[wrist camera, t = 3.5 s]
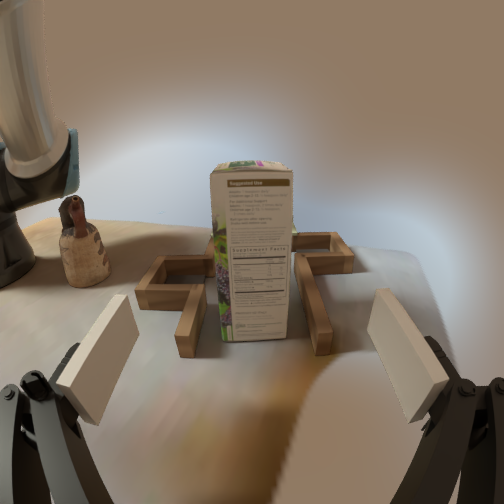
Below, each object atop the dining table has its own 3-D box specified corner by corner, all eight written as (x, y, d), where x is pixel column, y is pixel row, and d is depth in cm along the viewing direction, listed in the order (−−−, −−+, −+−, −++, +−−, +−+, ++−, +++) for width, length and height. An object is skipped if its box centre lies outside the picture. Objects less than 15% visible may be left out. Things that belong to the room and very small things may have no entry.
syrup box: (225, 306, 28) (213, 162, 22) (281, 303, 28) (282, 159, 23) (222, 343, 23) (204, 170, 17) (290, 339, 23) (295, 167, 17)
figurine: (104, 261, 39) (89, 187, 35) (117, 276, 35) (99, 190, 30) (65, 275, 35) (46, 200, 30) (72, 294, 30) (48, 206, 25)
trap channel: (394, 346, 21) (406, 309, 19) (116, 351, 22) (102, 316, 20) (327, 235, 46) (328, 213, 44) (182, 239, 46) (179, 217, 45)
